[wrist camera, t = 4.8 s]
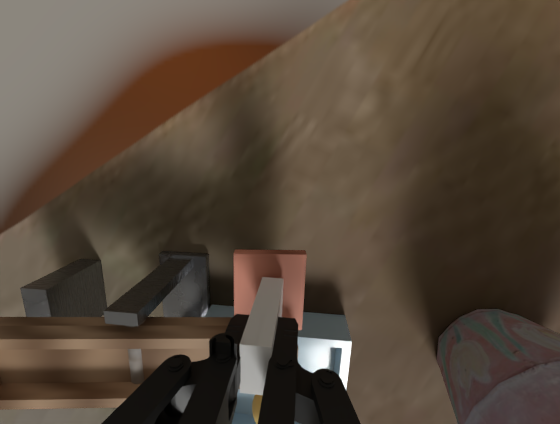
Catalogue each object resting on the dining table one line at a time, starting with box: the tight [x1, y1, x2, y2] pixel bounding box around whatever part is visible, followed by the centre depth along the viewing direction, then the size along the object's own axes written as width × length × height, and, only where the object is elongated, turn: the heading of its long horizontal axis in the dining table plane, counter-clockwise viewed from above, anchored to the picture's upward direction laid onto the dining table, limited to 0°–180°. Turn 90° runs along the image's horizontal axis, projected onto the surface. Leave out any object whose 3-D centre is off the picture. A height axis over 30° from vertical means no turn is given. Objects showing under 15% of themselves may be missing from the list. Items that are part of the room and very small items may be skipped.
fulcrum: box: [104, 251, 210, 408], centre depth 24 cm, size 5×10×10 cm, turn 178°
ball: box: [252, 395, 263, 424], centre depth 22 cm, size 4×4×4 cm
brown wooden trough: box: [0, 249, 307, 409], centre depth 18 cm, size 24×12×4 cm, turn 88°
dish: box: [205, 305, 352, 424], centre depth 28 cm, size 15×15×4 cm
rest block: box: [21, 259, 107, 317], centre depth 27 cm, size 2×6×6 cm, turn 178°
